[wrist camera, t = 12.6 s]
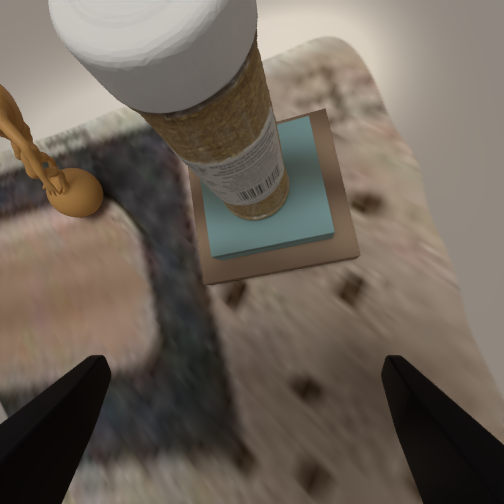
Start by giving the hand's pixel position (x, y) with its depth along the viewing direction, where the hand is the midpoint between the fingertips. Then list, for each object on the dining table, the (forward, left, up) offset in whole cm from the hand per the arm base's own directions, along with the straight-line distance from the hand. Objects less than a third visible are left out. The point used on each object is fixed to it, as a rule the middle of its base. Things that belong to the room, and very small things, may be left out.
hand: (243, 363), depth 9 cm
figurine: (+17, +8, -12) cm, 23 cm away
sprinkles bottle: (+8, -3, -9) cm, 13 cm away
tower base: (+8, -4, -12) cm, 15 cm away
